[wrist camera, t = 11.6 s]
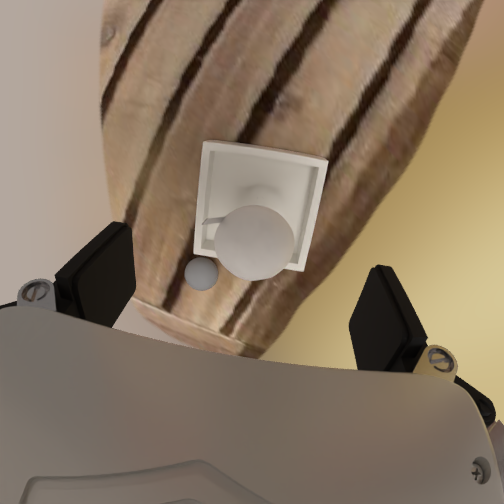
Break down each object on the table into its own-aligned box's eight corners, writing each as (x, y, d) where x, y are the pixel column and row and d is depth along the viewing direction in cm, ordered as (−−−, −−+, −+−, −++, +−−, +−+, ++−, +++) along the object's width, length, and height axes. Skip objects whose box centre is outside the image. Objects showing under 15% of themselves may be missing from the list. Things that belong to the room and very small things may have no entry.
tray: (210, 139, 22) (203, 141, 20) (323, 157, 22) (328, 161, 20) (200, 241, 26) (193, 253, 24) (301, 258, 26) (303, 271, 24)
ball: (190, 249, 27) (181, 264, 24) (222, 254, 27) (216, 270, 24) (189, 276, 28) (180, 293, 26) (219, 282, 28) (213, 299, 25)
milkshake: (250, 158, 22) (234, 187, 13) (299, 203, 24) (315, 259, 15) (214, 199, 24) (178, 251, 15) (262, 240, 25) (254, 311, 16)
